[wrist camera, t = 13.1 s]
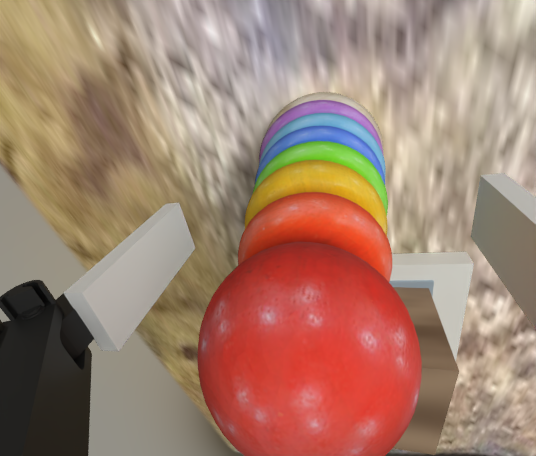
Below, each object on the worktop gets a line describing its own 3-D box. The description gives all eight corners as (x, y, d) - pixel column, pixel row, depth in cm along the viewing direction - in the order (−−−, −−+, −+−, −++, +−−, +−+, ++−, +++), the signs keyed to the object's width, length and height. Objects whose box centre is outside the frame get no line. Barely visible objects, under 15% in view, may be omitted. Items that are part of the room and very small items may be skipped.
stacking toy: (326, 221, 24) (298, 562, 8) (246, 158, 22) (25, 420, 7) (408, 145, 20) (679, 542, 4) (315, 61, 18) (164, 160, 3)
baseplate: (264, 257, 27) (260, 269, 25) (466, 251, 23) (474, 265, 21) (288, 357, 34) (286, 371, 32) (447, 367, 29) (452, 384, 28)
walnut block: (299, 284, 25) (287, 355, 20) (429, 288, 23) (459, 371, 17) (308, 359, 30) (300, 433, 24) (415, 369, 28) (434, 454, 22)
